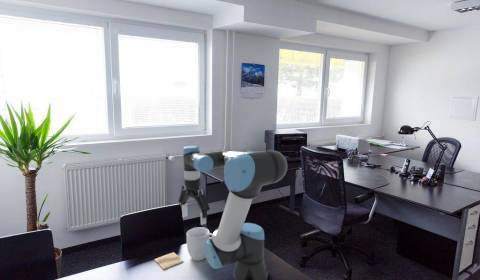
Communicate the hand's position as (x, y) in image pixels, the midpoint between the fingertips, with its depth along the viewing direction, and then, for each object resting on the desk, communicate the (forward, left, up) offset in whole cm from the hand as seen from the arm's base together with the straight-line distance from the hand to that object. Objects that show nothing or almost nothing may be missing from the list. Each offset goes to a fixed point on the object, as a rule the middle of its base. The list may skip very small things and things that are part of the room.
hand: (194, 220), depth 146 cm
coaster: (+2, +13, -18) cm, 22 cm away
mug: (-4, -1, -18) cm, 19 cm away
